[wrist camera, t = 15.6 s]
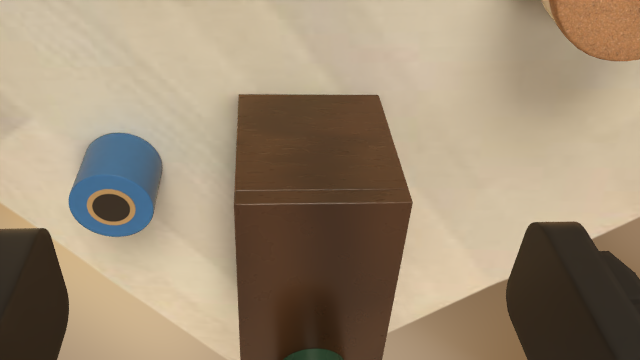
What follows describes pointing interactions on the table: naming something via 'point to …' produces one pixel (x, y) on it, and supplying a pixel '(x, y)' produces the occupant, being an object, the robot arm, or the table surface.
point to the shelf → (317, 225)
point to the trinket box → (600, 26)
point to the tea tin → (314, 355)
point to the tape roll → (116, 185)
